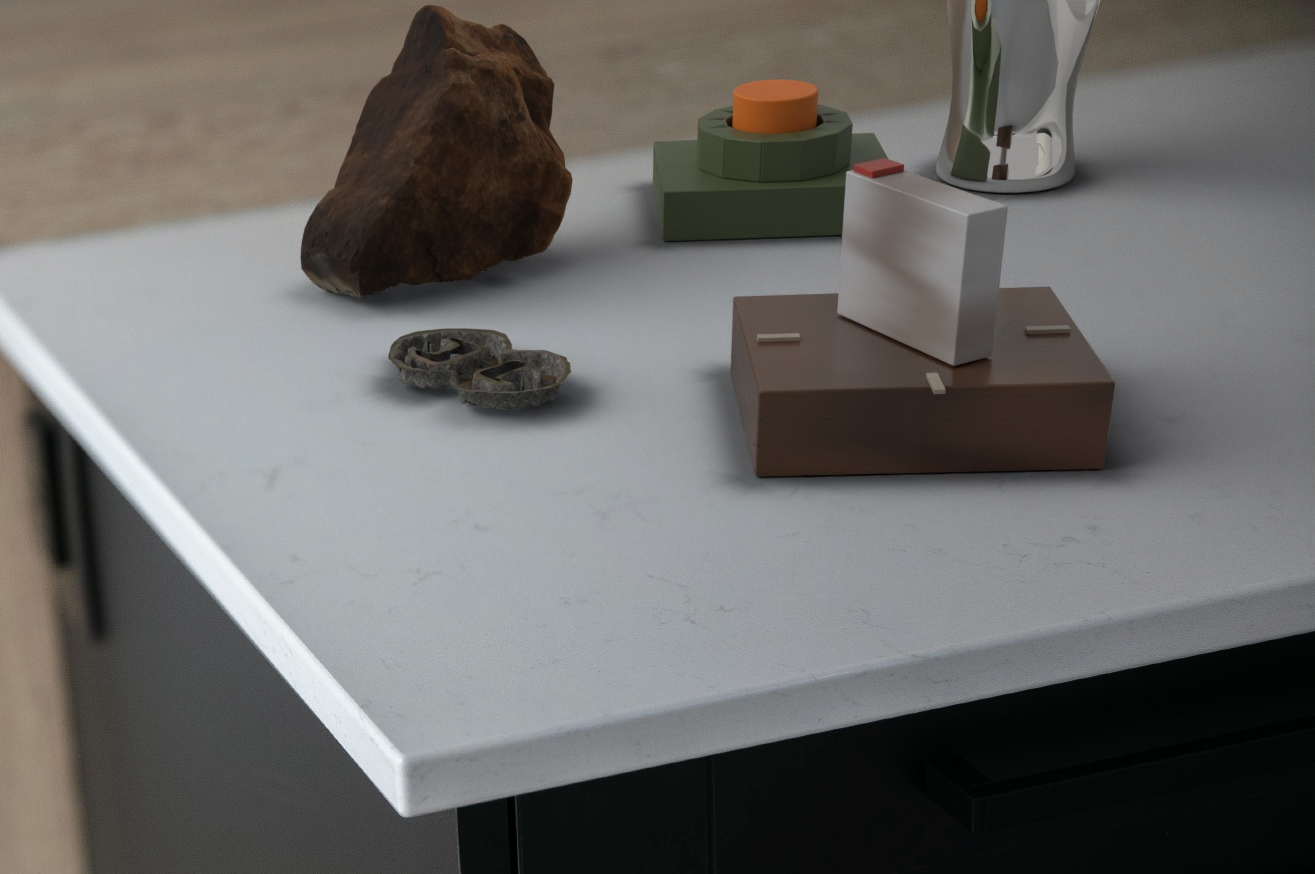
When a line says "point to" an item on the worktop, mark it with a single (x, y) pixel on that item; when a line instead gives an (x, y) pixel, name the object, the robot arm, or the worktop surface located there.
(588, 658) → the worktop surface
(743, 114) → the button
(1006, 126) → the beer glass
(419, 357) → the corroded twin loop
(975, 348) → the tap handle
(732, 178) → the button box
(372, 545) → the worktop surface
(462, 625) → the worktop surface
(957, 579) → the worktop surface
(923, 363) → the block
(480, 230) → the decorative rock
